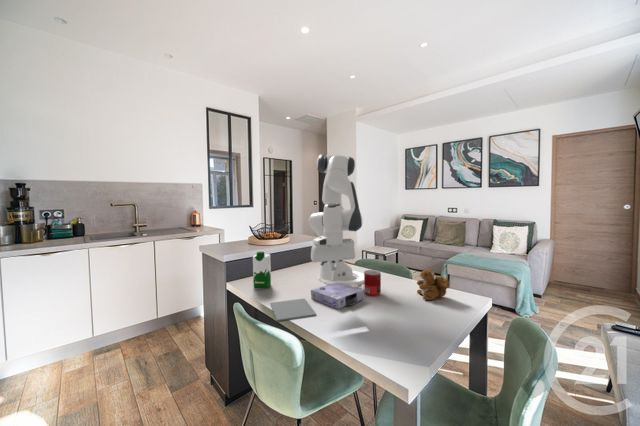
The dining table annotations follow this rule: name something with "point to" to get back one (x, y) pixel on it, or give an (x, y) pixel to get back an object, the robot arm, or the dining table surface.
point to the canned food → (372, 282)
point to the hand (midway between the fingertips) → (333, 270)
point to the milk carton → (261, 270)
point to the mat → (292, 309)
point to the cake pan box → (337, 295)
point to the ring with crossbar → (350, 282)
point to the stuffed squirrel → (432, 285)
